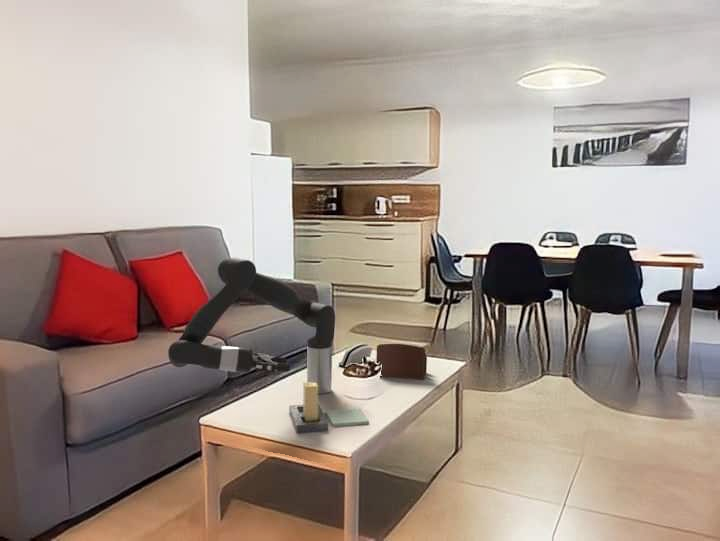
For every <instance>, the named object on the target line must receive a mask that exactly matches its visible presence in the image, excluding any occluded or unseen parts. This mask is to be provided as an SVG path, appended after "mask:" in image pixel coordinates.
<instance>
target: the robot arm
mask: <svg viewBox="0 0 720 541" xmlns="http://www.w3.org/2000/svg"><path fill="white" fill-rule="evenodd" d="M217 275H218V277H219V279H220V280H221V281H222V282H223V283H224V284H225V285H224V286H223V288H222V289H221V290H219V291H218V293H216V294H215V295H214V296H212V298H210V299H209V300H208V301H206V302H205V303H204V304H203V305H202V306H201V307H199V308H198V309H197V310H196V312H195V313H194V314H193V316H192V317H191V319H190V320H189V321H188V323H187V324H186V326H185V327H184V328H185V329H184V330H183V333H182V334H181V336H180V337H179V338H178V340H175V341H174V342H173V343H172V344H171V345H169V348H168V352H167V353H168V359H169V360H168V361H169V362H170V363H171V365H173V366H174V367H175V368H183V367H186V366H188V365H195V366H200V367H202V368H205V369H212V370H221V371H226V372H235V373H242V374H245V373H246V374H249V373H250V372H251V370H252V368H254V370H255V371H257V372H267V373H275V372H278V371H280V372H289V371H290V367H291V366H290V363H288V359H287V358H286V357H280V356H275V355H273V354H271V353H270V354H269V353H258V352H253V348H251V347H250V348H249V347H248V348H247V347H240V346H239V347H238V346H222V345H207V344H203V342H204V341H205V340H206V338H207V337H208V336H209V335H210V333H212V332H211V331H212V330H213V329H214V328H215V326H216V325H217V323H218V322H219V320H220V319H221V318H222V317H223V315H224V314H225V312H227V311H228V309H229V308H230V307H231V306H232V305H233V304H234V303H235V302H236V301H237V300H238V299H239V298H240V296H241V295H242V294H244V292H246V293H249V294H250V295H251V296H253V297H255V298H257V299H258V300H260V301H261V302H263V303H265V304H267V305H269V306H270V307H272V308H275V309H277V310H279V311H281V312H284V313H286V314H289V315H292V316H294V317H295V318H297V319H299V320H300V321H301V322H302V323H304V324H306V325H307V326H309V327H311V328H316V329H315V335H311V336H310V337H308V338H307V343H306V344H307V346H306V349H307V351H306V352H307V354H306V355H307V360H306V362H307V364H306V383H310V382H316V383H317V385H318V395H323V394H328V393H331V392H332V383H333V382H332V376H333V373H332V372H333V370H332V367H333V366H332V365H333V341H334V338H335V330H336V329H335V326H336V313H335V309H334V308H333V306H331V305H330V304H326V303H322V302H321V303H320V302H316V301H312V300H308V299H306V298H303V297H302V296H300V294H299V293H298V291H297V290H296V289H295V288H294V287H293V286H291V285H289V284H288V283H286V282H283V281H282V280H280V279H277V278H275V277H272V276H268V275H265V274H261V273H259V272H257V268H256V265H255V264H254V263H253V262H252V261H251V260H249V259H245V258H240V257H228V258H225V259H224V260H222V261H221V262H220V263H219V264H218V268H217Z"/></svg>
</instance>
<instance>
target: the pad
mask: <svg viewBox="0 0 720 541" xmlns="http://www.w3.org/2000/svg"><path fill="white" fill-rule="evenodd" d="M362 410H363V409H361V407H360V408H358V407H356V408H345V409H344V408H343V409H329V410H327V409H326V410H325V415H326V418H328V419H327V420H328V421H329V423H330V425H331V426H332V427H333V428H334V427H346V426H347V425H349V426H359V425H358V424H363V425H369V424H370V422H369V418H368V417H367V416H366V414H364V412H363V411H362ZM347 427H348V426H347Z"/></svg>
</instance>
